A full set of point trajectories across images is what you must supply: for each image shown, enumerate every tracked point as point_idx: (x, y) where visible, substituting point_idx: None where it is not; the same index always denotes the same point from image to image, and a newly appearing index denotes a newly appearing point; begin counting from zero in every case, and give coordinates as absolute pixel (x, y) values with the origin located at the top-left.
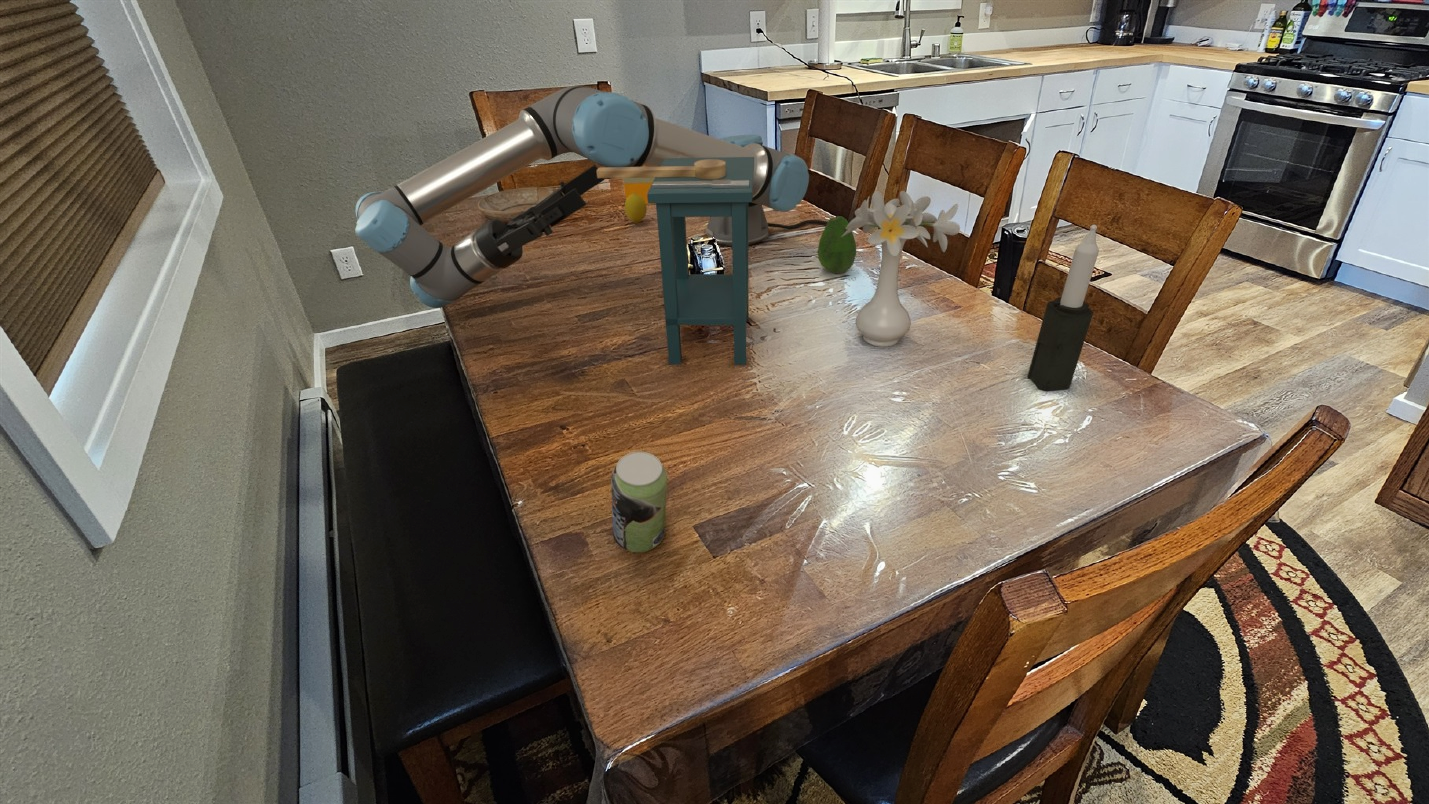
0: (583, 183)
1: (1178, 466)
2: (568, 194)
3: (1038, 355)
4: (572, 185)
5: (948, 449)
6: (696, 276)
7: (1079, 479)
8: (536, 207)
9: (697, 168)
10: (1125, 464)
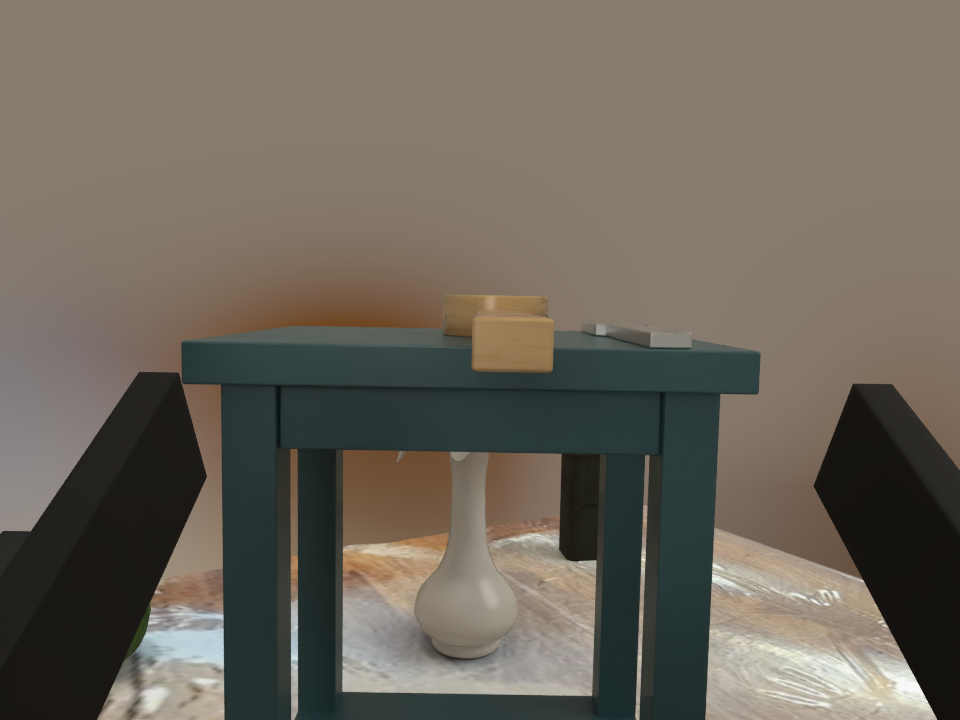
0: (123, 559)
1: (723, 532)
2: (919, 428)
3: (583, 523)
4: (56, 630)
5: (793, 626)
6: None
7: (787, 569)
8: None
9: (533, 304)
10: (738, 548)
